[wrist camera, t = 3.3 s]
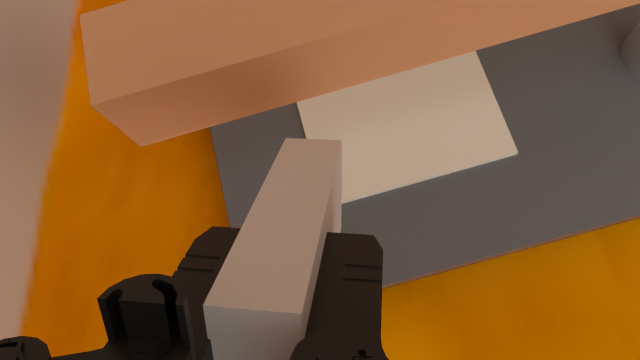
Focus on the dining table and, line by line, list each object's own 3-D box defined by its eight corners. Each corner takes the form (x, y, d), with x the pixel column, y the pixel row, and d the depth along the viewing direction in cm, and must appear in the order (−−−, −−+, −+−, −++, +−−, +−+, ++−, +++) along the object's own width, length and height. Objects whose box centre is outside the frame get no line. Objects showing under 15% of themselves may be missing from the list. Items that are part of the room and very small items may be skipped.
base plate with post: (595, -46, 27) (695, -222, 19) (728, 193, 23) (939, 104, 14) (204, 68, 28) (126, -52, 19) (257, 323, 23) (187, 313, 15)
